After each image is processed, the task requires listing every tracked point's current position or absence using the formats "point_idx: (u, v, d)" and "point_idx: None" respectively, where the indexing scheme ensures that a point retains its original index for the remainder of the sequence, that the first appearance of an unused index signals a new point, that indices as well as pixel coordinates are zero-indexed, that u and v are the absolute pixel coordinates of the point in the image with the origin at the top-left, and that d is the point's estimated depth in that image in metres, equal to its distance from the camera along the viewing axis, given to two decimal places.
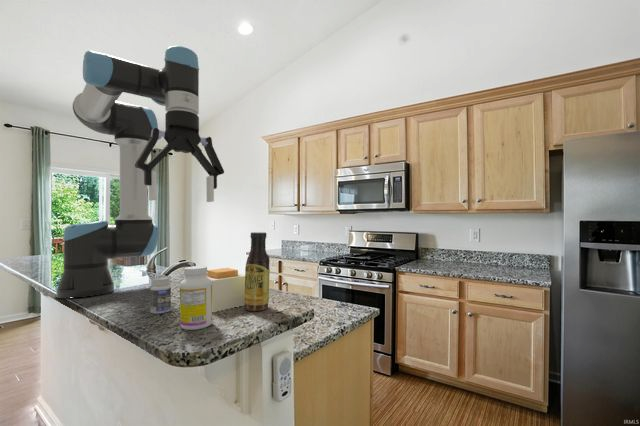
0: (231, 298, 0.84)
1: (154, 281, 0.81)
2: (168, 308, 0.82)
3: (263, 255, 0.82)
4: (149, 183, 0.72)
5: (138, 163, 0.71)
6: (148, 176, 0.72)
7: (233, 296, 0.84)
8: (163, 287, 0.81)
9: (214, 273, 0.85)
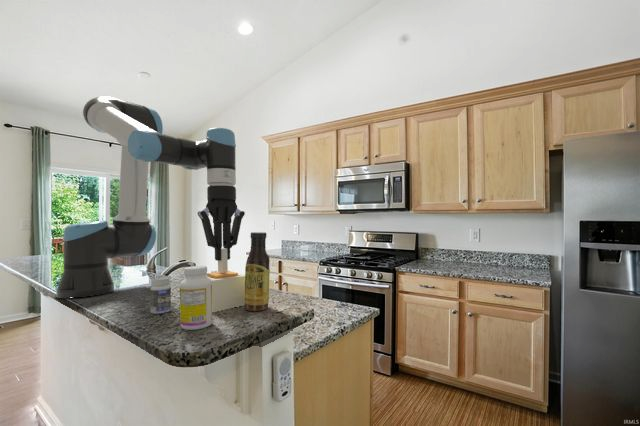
0: (231, 298, 0.84)
1: (154, 281, 0.81)
2: (168, 308, 0.82)
3: (263, 255, 0.82)
4: (219, 259, 0.86)
5: (212, 245, 0.85)
6: (219, 253, 0.86)
7: (233, 296, 0.84)
8: (163, 287, 0.81)
9: (214, 276, 0.85)
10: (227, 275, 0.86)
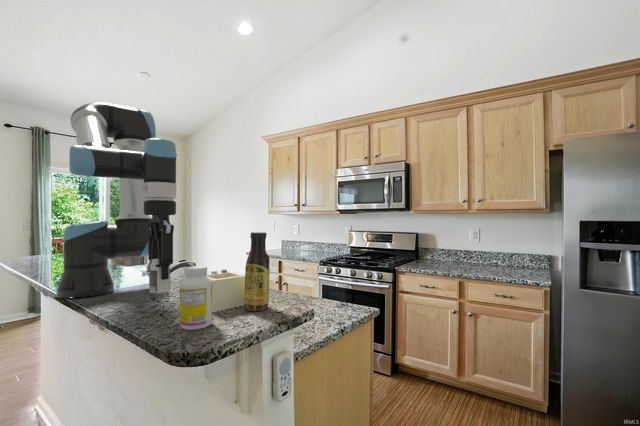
0: (231, 298, 0.84)
1: (154, 261, 0.81)
2: None
3: (263, 255, 0.82)
4: None
5: None
6: None
7: (233, 296, 0.84)
8: None
9: None
10: None
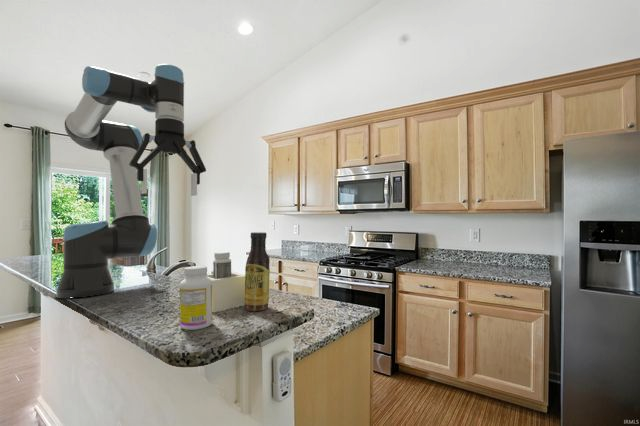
0: (231, 298, 0.84)
1: (228, 254, 0.87)
2: None
3: (263, 255, 0.82)
4: (141, 179, 0.87)
5: (132, 162, 0.85)
6: (140, 173, 0.87)
7: (233, 296, 0.84)
8: None
9: None
10: None
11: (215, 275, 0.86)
